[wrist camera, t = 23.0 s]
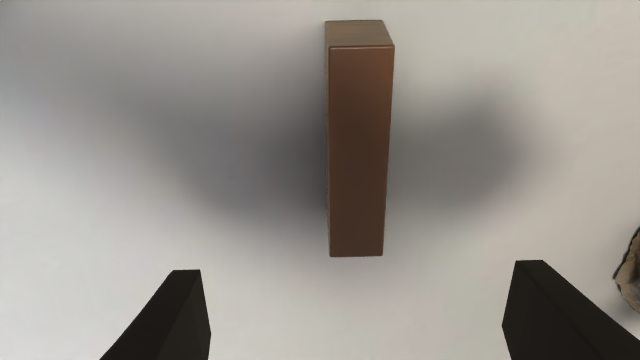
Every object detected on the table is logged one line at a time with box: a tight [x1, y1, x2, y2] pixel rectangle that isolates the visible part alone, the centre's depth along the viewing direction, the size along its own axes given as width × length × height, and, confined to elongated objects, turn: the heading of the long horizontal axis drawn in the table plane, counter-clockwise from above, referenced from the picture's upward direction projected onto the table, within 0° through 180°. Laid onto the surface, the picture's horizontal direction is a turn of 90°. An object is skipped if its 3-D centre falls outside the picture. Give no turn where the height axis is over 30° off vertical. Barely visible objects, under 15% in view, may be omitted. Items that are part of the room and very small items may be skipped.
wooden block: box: [325, 20, 395, 257], centre depth 19 cm, size 2×8×3 cm, turn 1°
